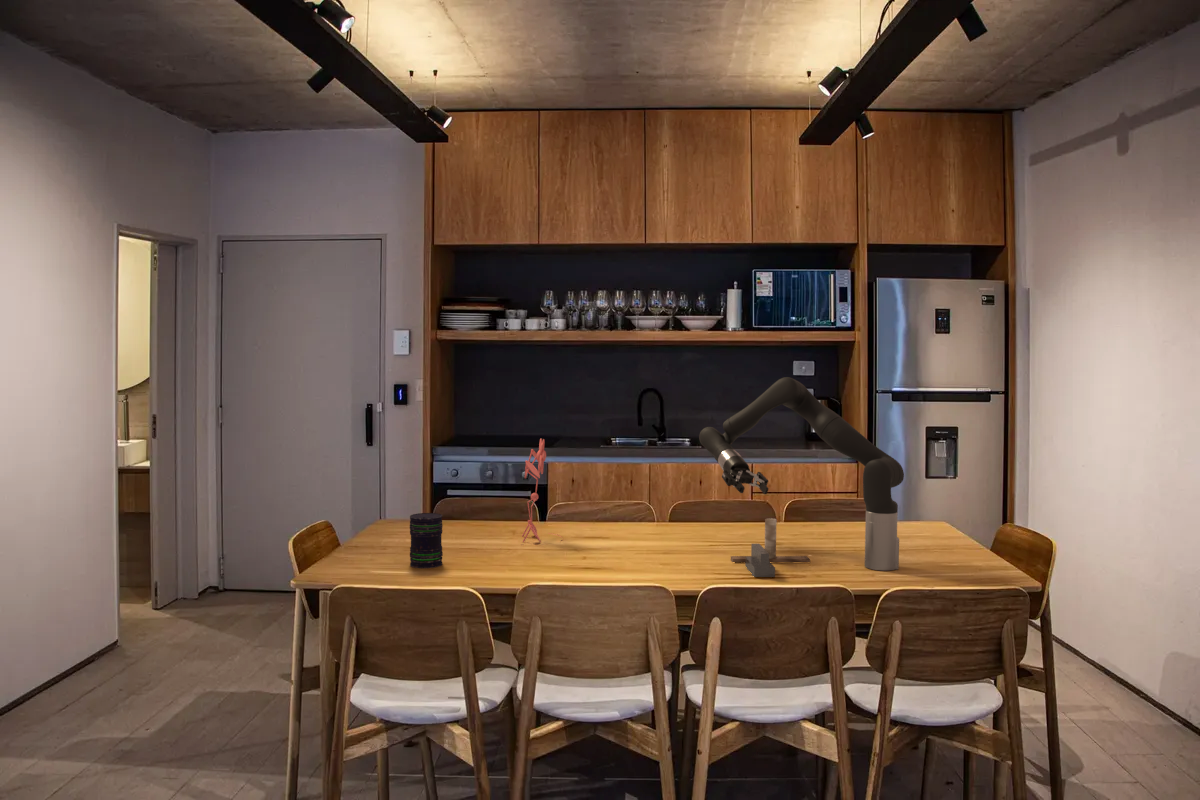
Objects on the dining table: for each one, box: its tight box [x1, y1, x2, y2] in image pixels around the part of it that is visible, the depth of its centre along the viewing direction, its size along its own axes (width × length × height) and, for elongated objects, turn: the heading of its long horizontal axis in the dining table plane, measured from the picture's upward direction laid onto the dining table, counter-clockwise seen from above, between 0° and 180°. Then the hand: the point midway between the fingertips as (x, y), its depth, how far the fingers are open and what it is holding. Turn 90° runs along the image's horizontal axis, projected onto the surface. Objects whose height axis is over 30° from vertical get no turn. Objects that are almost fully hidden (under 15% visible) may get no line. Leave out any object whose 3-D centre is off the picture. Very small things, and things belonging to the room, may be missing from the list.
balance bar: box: [730, 517, 811, 563], centre depth 287 cm, size 24×4×14 cm, turn 92°
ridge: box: [744, 543, 776, 578], centre depth 273 cm, size 6×14×7 cm, turn 2°
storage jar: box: [409, 512, 444, 569], centre depth 280 cm, size 10×10×15 cm
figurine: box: [520, 438, 562, 546], centre depth 317 cm, size 15×26×35 cm, turn 6°
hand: (754, 491), depth 289 cm, fingers open, 8 cm apart
